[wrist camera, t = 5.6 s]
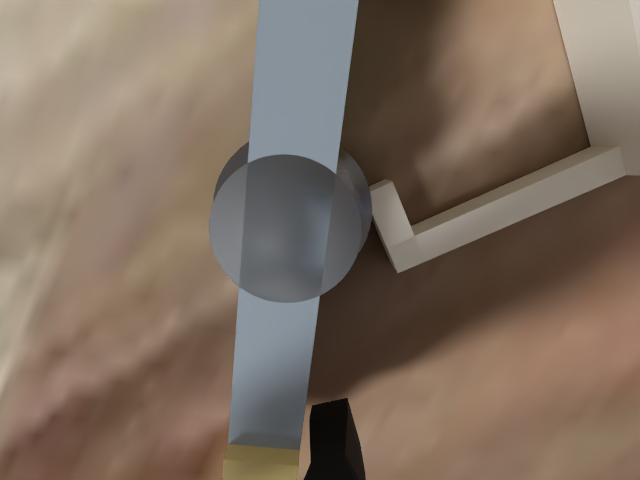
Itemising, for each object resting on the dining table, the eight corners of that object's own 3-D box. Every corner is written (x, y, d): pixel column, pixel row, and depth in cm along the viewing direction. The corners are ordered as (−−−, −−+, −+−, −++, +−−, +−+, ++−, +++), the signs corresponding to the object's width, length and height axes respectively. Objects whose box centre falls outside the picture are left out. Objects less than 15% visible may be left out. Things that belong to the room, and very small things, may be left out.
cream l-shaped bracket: (540, -201, 10) (614, -316, 7) (624, 160, 12) (700, 162, 10) (257, -47, 11) (240, -106, 8) (390, 262, 13) (407, 287, 11)
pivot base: (330, 107, 12) (332, 100, 10) (385, 237, 13) (395, 249, 11) (201, 170, 12) (183, 173, 11) (265, 290, 13) (258, 309, 12)
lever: (410, -187, 8) (461, -372, 5) (312, 478, 13) (312, 572, 10) (259, -213, 8) (228, -418, 5) (217, 470, 13) (188, 563, 10)
